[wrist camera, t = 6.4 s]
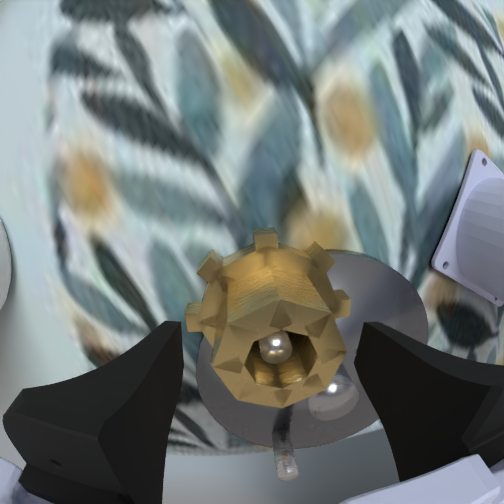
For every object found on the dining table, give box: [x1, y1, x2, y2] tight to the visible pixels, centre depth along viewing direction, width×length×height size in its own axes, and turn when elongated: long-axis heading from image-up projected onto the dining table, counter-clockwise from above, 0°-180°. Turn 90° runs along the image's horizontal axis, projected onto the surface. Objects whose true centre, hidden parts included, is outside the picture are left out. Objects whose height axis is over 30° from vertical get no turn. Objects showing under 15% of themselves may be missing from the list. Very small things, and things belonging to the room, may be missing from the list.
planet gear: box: [185, 227, 351, 408], centre depth 12 cm, size 7×7×4 cm
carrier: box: [196, 249, 428, 481], centre depth 14 cm, size 14×14×5 cm
